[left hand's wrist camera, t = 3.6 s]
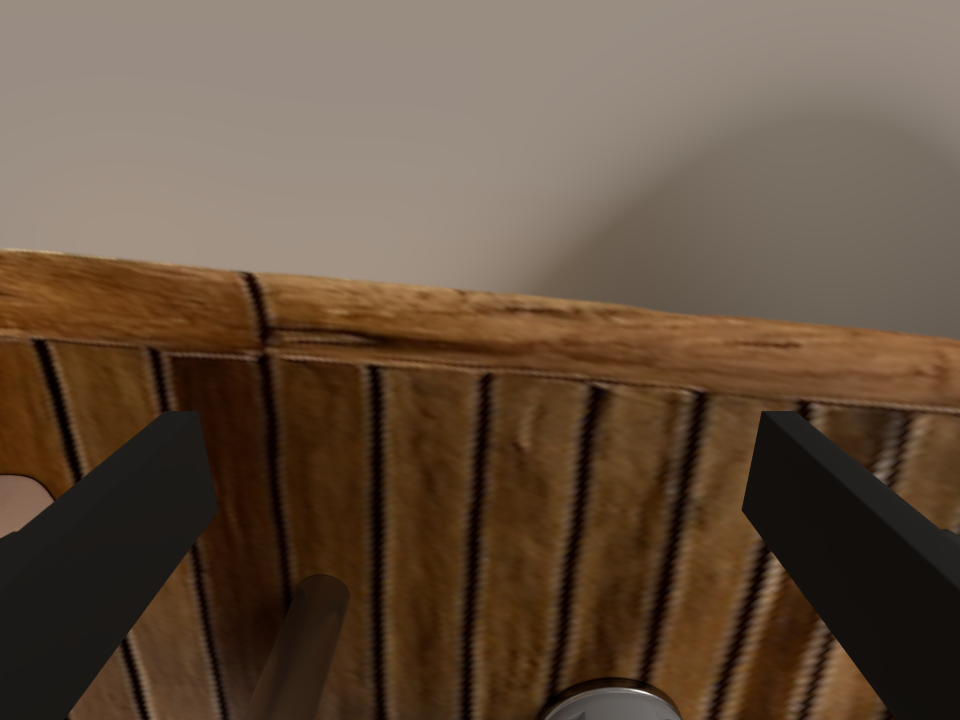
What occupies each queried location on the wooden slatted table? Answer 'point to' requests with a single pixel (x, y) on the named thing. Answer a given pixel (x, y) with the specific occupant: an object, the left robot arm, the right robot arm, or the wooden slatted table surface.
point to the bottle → (301, 653)
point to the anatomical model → (20, 502)
